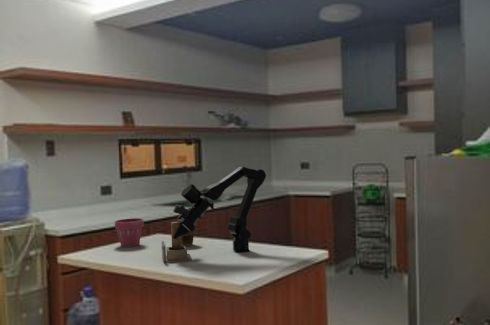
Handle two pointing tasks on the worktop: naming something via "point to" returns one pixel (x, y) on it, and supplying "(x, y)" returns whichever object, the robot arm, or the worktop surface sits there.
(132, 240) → the plant pot
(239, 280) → the worktop surface
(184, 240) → the ceramic cup
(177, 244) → the wooden pestle
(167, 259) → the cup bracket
